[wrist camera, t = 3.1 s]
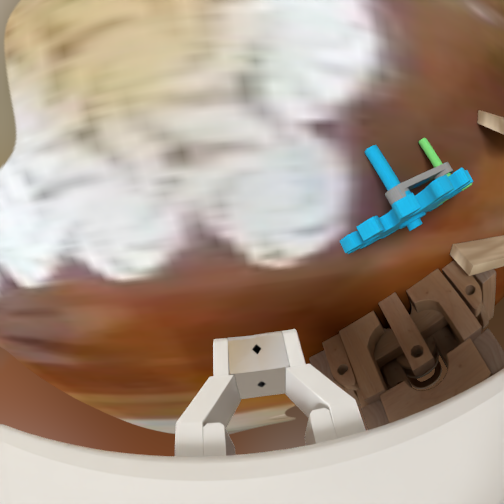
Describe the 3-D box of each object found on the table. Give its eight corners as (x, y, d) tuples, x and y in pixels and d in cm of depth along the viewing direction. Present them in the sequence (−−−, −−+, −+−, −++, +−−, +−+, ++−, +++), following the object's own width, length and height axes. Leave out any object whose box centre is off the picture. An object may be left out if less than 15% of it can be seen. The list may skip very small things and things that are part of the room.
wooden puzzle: (471, 234, 23) (580, 371, 8) (476, 305, 30) (540, 409, 15) (297, 348, 29) (336, 520, 14) (347, 387, 36) (381, 503, 21)
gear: (335, 271, 21) (379, 244, 11) (301, 202, 22) (314, 130, 12) (440, 214, 21) (511, 168, 11) (407, 156, 22) (457, 89, 12)
